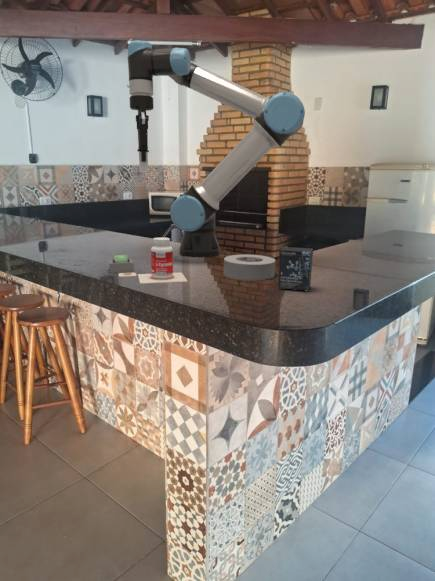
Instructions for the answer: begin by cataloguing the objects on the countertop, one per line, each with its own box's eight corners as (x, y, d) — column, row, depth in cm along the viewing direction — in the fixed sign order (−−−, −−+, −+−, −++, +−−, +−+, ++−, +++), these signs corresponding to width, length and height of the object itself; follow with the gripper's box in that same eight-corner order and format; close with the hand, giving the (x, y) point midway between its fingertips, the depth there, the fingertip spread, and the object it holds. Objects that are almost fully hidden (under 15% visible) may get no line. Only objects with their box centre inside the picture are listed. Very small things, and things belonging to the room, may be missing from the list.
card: (135, 273, 132) (135, 272, 132) (136, 276, 128) (136, 275, 128) (118, 274, 131) (118, 272, 131) (118, 277, 127) (118, 275, 127)
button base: (132, 267, 140) (132, 258, 139) (133, 272, 133) (133, 262, 133) (110, 268, 138) (109, 259, 138) (109, 273, 132) (109, 263, 131)
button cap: (127, 267, 138) (127, 254, 137) (128, 269, 134) (127, 256, 133) (114, 267, 137) (114, 254, 136) (114, 270, 133) (114, 257, 132)
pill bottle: (154, 280, 122) (153, 240, 119) (149, 275, 128) (148, 237, 125) (176, 278, 124) (175, 239, 122) (169, 274, 130) (169, 236, 127)
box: (277, 289, 115) (279, 249, 112) (281, 284, 120) (283, 246, 117) (308, 292, 113) (311, 251, 110) (310, 287, 118) (313, 248, 115)
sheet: (181, 273, 133) (181, 272, 133) (187, 281, 122) (187, 280, 122) (137, 275, 130) (137, 273, 130) (140, 284, 119) (140, 282, 119)
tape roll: (285, 275, 132) (286, 259, 131) (252, 284, 121) (252, 266, 120) (246, 268, 142) (246, 252, 141) (212, 275, 132) (212, 258, 131)
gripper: (128, 98, 147) (131, 172, 153) (130, 92, 134) (133, 172, 140) (151, 100, 148) (153, 172, 154) (155, 93, 136) (157, 172, 142)
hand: (143, 172), depth 147 cm, fingers closed
